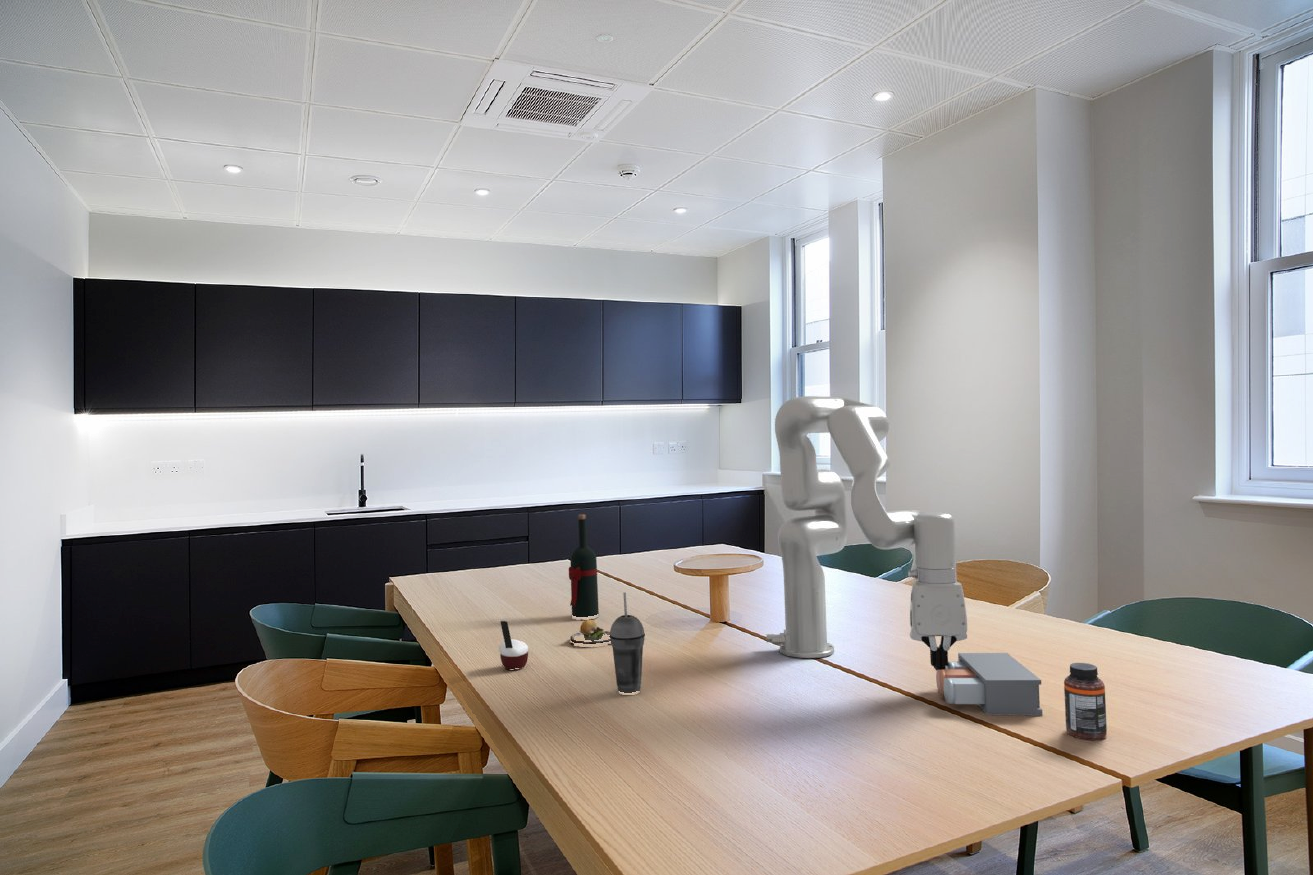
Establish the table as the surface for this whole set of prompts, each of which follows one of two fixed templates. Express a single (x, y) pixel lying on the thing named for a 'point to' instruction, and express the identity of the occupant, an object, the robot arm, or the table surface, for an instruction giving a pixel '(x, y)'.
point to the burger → (590, 633)
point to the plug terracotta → (951, 676)
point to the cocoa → (512, 650)
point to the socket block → (1004, 684)
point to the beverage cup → (627, 651)
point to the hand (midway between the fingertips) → (939, 669)
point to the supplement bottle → (1085, 702)
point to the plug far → (956, 665)
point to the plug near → (964, 691)
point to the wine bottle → (583, 576)
